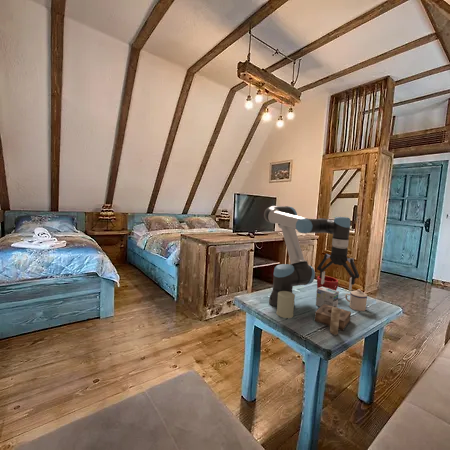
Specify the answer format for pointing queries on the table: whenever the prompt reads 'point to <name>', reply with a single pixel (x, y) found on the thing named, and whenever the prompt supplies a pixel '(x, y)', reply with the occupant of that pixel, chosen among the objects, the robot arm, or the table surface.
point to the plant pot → (327, 283)
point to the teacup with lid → (357, 300)
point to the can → (285, 304)
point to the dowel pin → (334, 320)
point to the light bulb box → (327, 297)
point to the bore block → (325, 316)
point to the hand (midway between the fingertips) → (335, 286)
